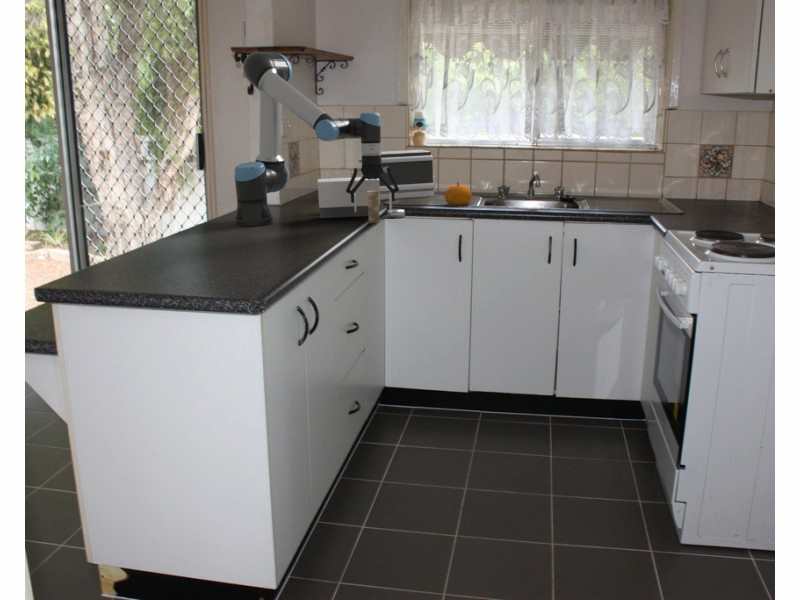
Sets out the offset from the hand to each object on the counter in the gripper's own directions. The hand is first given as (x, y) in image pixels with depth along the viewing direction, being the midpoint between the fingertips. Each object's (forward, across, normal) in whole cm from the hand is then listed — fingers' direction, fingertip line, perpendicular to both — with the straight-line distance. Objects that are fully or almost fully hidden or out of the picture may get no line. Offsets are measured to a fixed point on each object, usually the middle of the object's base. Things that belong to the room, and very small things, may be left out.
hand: (373, 210), depth 290 cm
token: (+5, +10, +10) cm, 15 cm away
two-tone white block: (+5, -9, +13) cm, 16 cm away
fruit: (+5, +39, +37) cm, 54 cm away
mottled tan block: (+5, 0, +6) cm, 7 cm away
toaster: (+5, +15, +74) cm, 75 cm away
